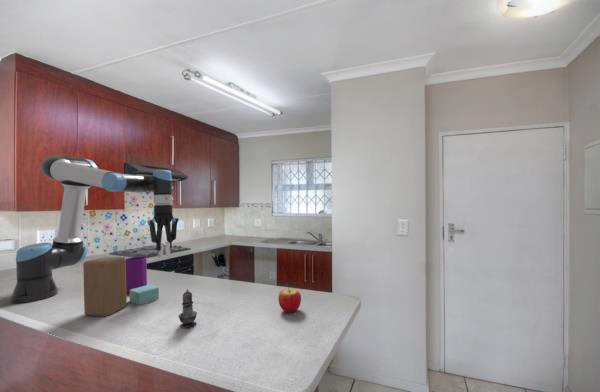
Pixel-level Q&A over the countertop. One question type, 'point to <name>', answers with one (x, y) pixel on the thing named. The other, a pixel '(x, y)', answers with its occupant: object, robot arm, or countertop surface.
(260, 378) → the countertop surface
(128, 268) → the mug
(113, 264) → the wooden block
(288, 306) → the apple
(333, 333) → the countertop surface
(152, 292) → the teal block
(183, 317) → the grey chess piece
